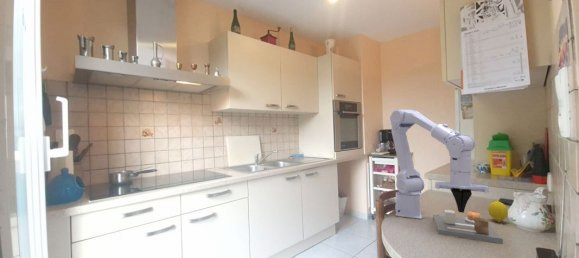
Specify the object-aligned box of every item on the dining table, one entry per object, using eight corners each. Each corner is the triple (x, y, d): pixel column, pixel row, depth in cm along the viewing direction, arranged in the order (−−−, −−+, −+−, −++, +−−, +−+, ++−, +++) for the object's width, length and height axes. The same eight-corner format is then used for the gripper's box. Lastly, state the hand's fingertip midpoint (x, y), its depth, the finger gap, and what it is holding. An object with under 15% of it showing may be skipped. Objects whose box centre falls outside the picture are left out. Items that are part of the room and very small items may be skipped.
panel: (438, 234, 82) (438, 226, 82) (433, 218, 96) (432, 212, 96) (502, 243, 74) (502, 235, 74) (486, 225, 89) (486, 218, 89)
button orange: (468, 219, 87) (468, 213, 87) (466, 216, 90) (466, 210, 90) (481, 221, 86) (481, 215, 86) (478, 217, 89) (478, 212, 89)
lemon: (511, 225, 89) (511, 203, 89) (494, 224, 90) (494, 202, 90) (501, 219, 94) (501, 199, 94) (485, 218, 95) (485, 198, 95)
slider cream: (445, 223, 87) (445, 212, 87) (444, 220, 89) (444, 209, 89) (455, 224, 85) (455, 213, 85) (453, 221, 88) (453, 210, 88)
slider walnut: (476, 232, 78) (476, 220, 78) (474, 229, 81) (474, 217, 81) (488, 234, 77) (488, 221, 77) (485, 230, 80) (485, 218, 80)
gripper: (436, 171, 81) (437, 212, 81) (491, 174, 75) (491, 218, 75) (434, 168, 87) (434, 206, 87) (484, 171, 81) (485, 211, 81)
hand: (460, 211), depth 81 cm, fingers closed
